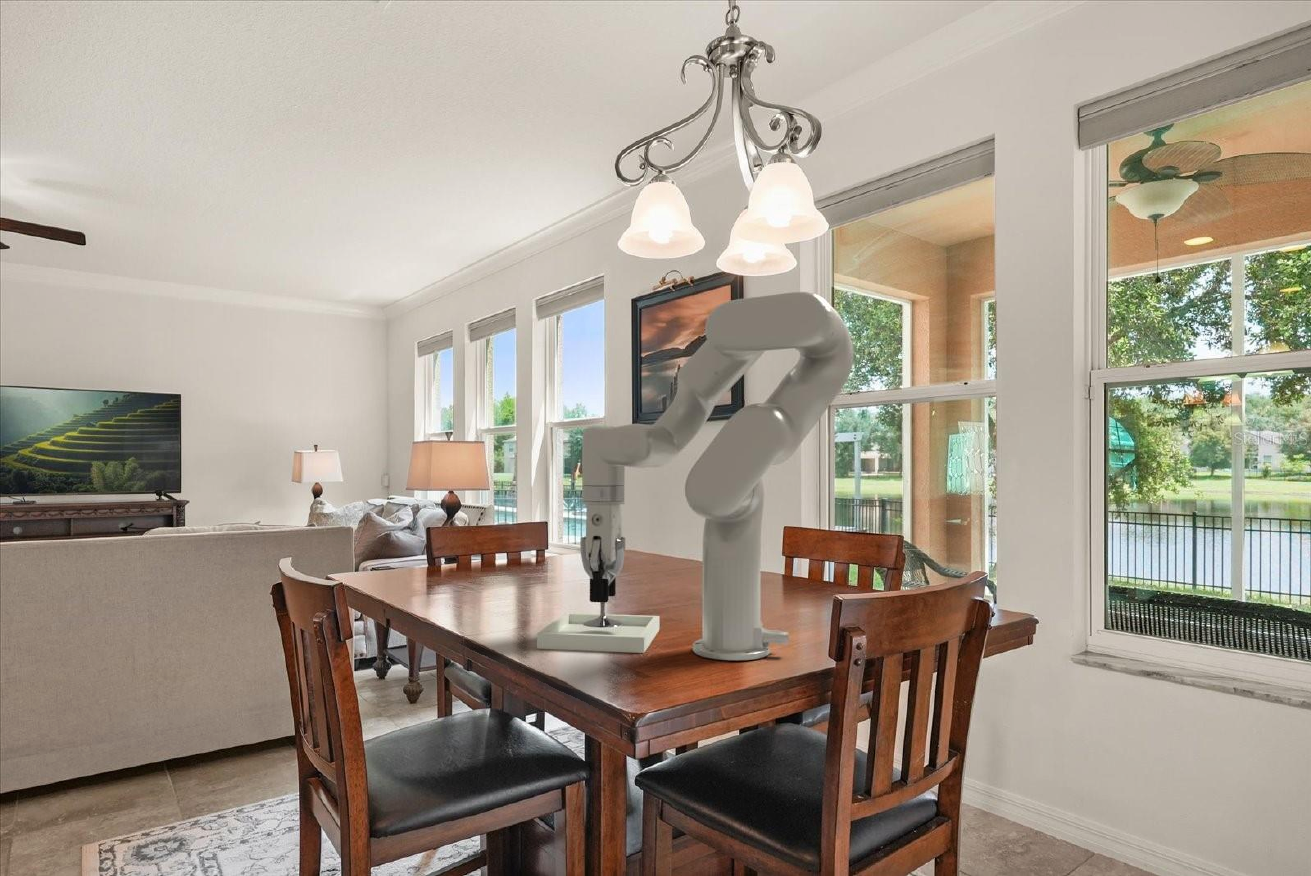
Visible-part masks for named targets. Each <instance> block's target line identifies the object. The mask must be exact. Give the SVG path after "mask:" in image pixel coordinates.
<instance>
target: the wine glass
mask: <svg viewBox="0 0 1311 876" xmlns="http://www.w3.org/2000/svg"><path fill="white" fill-rule="evenodd" d="M615 551H616V560H615V561H614V562H610V560H609V559H606V558H605V556H604V553H603V551H602V548H601V551H600V557H599V562H600V564H599V565H602V567H603V564H601V563H602V562H605V561H606V562H607V578H606V579H609V585H610V584H611V582H612V581H613V580H614V578H615V577H616V578H617V576H618V575H619V573H620V572H621V571H622V568H623V566H624V562H625V554H626V537H625V536H622V537H621V539H616V540H615ZM591 553H592V550H591ZM591 553H589V557H591ZM580 558H581V563H582V567H583V569H584V572H585V573H586V574H587V576H588V577H589V578H590V566H591V564H590V561H589V560H587V558H586V536H582V537H580ZM589 559H590V558H589ZM599 604H600V613H599V614H600V616H599V617H598V618H596V619H592V620H588V621H585V622H583V623H582V624H583V625H584V626H588V627H597V628H606V627H615V626H620V625H622V624H623V622H621V621H619V620H614V619H610V618H607V617H606V616H605V614H606V603H605V602H599Z"/></svg>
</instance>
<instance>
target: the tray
mask: <svg viewBox="0 0 1311 876" xmlns="http://www.w3.org/2000/svg"><path fill="white" fill-rule="evenodd" d="M599 616H600V613H583V612H579V613H576V612H565V613H564V614H562V615H560V616H559V617H558V618H556V619H555V620H554V621H552V622H551V623H550V624H548V625H547V626H545V627H544V628H542V629H541V630H539V632H537V633H536V635H537V636H536V648H537V649H540V650H561V651H562V650H563V651H585V652H586V651H588V652H611V653H613V652H614V653H632V654H634V653H637V654H638V653H639V654H645V652H646V650H647V649H648V647H649V646H650V645H651V643H652V641H653V640H654V638H655V637H656V635H657V634H658V632H659V631H660V615H642V614H641V615H640V614H639V615H636V614H613V613H612V614H608V613H607V614H606V613H605V616H606V617H607V618H610V619H614V620H619V621H621V622H623V624H622V625H620V626H615V627H606V628H597V627H588V626H584V625H583V624H582V623H583V622H585V621H588V620H592V619H596V618H598V617H599Z"/></svg>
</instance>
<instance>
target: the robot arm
mask: <svg viewBox="0 0 1311 876" xmlns="http://www.w3.org/2000/svg"><path fill="white" fill-rule="evenodd" d="M704 329H705V330H704V334H705V336H706V340H705V342H703V343H702V344H701V346H700V347H699V348H698V349H697V350H696V351H695V353H693V354H692V355H691V356H690V358H689V359H688V360H687V361H685V363H684V364H683V365H682V366H681V367H680V368H679V369H678V372H677V379H676V380H677V387H676V388H677V390H676V394H675V397H674V398H673V401H672V402H670V403H671V404H670V405H669V406H668V407H667V409H666V410H665V411H664V412H663V414H662V415H660V416H659V418H658V419H656V420H655V422H654V423H653V424H644V423H643V424H642V423H629V424H624V425H620V426H613V425H612V426H609V425H598V426H597V425H596V426H595V425H594V426H589V427H586V428H585V429H584V430H583V432H582V440H581V441H582V445H581V446H582V450H581V451H582V453H581V456H582V457H581V458H582V459H581V460H582V461H581V463H582V465H581V467H582V468H581V471H582V472H581V474H582V475H581V477H582V478H581V504H582V505H585V506H586V521H585V523H586V524H585V537H586V558H587V560H589V561H590V564H591V566H590V577H589V601H590V602H591V603H600V602H605V604H606V603H608V602H609V597H615V596H616V589H617V587H616V586H617V585H616V584H617V582H616V581H617V580H616V578H617V576H616V577H615V578H614V580H613V581H612V582H611V584H610V585H609V579H606V578H607V562H606V561H605V562H602V563H601V564H603V567H602V565H599V564H600V562H599V557H600V551H601V548H602V551H603V553H604V556H605V558H606V559H609V560H610V562H614V561H615V560H616V551H615V540H616V539H621V537H623V522H622V520H623V519H622V509H621V508H622V507H621V505H625V476H626V475H625V472H626V471H625V468H626V467H627V468H628V467H629V468H641V469H642V468H661V467H663V466H665V465H668V464H669V463H671V462H672V461H673V460H674V459H676V457H678V456H679V454H681V452H683V450H684V449H685V448H686V447H687V446H688V445H689V444H690V443H691V442H692V441H693V440H694V439H695V437H696V436H697V435H698V434H699V432H700V431H701V430H702V429H703V427H704V425H705V424H706V422H707V420H708V419H709V417H710V416H711V415H712V413H713V410H714V408H715V406H716V405H717V403H719V401H720V400H721V399H722V398H723V397H724V396H725V395H726V394H727V392H728V391H729V390H730V389H731V388H732V387H733V386H734V385H735V384H736V383H737V382H738V381H739V380H740V378H742V377H743V375H745V374H746V373H747V371H748V370H749V369H750V368H751V367H753V365H754V364H756V362H757V361H758V360H759V359H760V358H761V357H762V356H763V354H765V352H766V351H776V350H777V351H778V350H785V349H795V350H797V351H798V352H799V359H798V361H797V363H795V364H796V365H794V366H793V367H792V368H791V370H789V371H788V372H787V374H786V375H785V376H784V377H783V378H782V379H781V380H780V382H779V384H778V385H777V386H776V388H775V389H774V390H773V391H772V393H771V394H770V395H769V397H768V398H767V399H766V400H765V401H764V402H763V403H761V402H759V403H753V404H749V405H745V406H743V407H742V408H740V409H739V410H737V411H736V412H735V413H734V414H733V415H732V416H731V417H729V419H728V420H727V421H726V423H724V425H723V426H722V428H720V430H719V432H718V433H717V435H715V436H714V438H713V440H712V441H711V442H710V444H709V445H708V446H707V447H706V448H705V450H704V451H703V452H702V453H701V455H700V457H699V458H698V459H697V460H696V462H695V463H694V464H693V466H692V468H691V469H690V471H689V473H688V474H687V478H686V480H685V485H684V493H685V498H686V502H687V504H688V506H689V507H690V509H691V510H692V511H693V512H694V513H695V514H697V516H700V517H701V518H704V519H705V520H704V526H703V533H702V583H701V584H702V585H701V586H702V600H701V601H702V607H701V608H702V610H701V611H702V613H701V614H702V615H701V616H702V618H701V619H702V620H701V621H702V625H701V627H702V634H701V635H702V637H701V638H699V639H697V640H695V641H694V642H693V643H692V651H693V652H694V653H695V654H696V655H697V656H700V657H702V658H707V659H713V660H720V661H736V662H737V661H751V660H758V659H762V658H765V657H767V656H769V655H770V653H771V645H769V643H770V644H779V645H789V642H790V641H789V639H790V638H789V637H790V636H789V635H790V634H789V631H781V629H779V630H778V629H773V630H772V629H771V630H769V629H767V628H766V627H765V628H764V627H763V623H764V622H763V621H761V554H762V551H761V549H762V548H761V547H762V543H761V542H762V541H761V540H762V521H763V511H764V504H765V503H764V501H765V497H764V496H765V490H764V489H765V488H764V482H763V480H762V478H763V476H764V475H765V474H766V473H767V472H768V470H769V469H770V468H771V466H777V465H779V464H783V463H785V462H787V461H788V460H789V459H790V458H791V457H792V456H793V455H794V454H795V452H796V451H797V449H799V447H800V445H801V444H802V442H803V441H804V440H805V438H806V437H807V436H808V435H809V434H810V432H811V431H812V429H813V428H814V427H815V426H816V424H817V423H818V422H819V420H820V419H821V418H822V416H823V415H824V414H825V412H826V411H827V409H828V408H830V406H831V405H832V403H833V401H834V400H835V399H836V398H837V397H838V395H839V394H840V392H841V391H842V389H843V388H844V386H845V384H846V383H847V381H848V379H849V376H850V375H851V371H852V369H853V363H854V345H853V341H852V338H851V334H850V332H849V330H848V327H847V325H846V323H845V321H844V320H843V318H842V316H841V315H840V313H838V312H837V310H836V309H835V308H834V307H833V306H832V305H830V303H829V302H828V301H827V300H826V299H825V298H823V297H821V296H820V295H818V294H816V293H814V292H808V291H793V292H784V293H778V294H777V293H776V294H771V295H770V294H769V295H763V296H754V297H753V296H751V297H745V298H738V299H734V300H727V301H725V302H722V303H721V304H719V305H718V306H716V307H715V308H714V309H712V311H711V312H710V313H709V315H708V317H707V318H706V322H705V326H704ZM591 550H592V553H591ZM589 553H591V557H589ZM589 558H590V559H589Z"/></svg>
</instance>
